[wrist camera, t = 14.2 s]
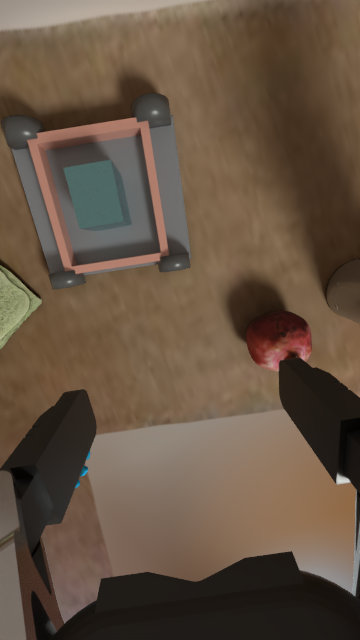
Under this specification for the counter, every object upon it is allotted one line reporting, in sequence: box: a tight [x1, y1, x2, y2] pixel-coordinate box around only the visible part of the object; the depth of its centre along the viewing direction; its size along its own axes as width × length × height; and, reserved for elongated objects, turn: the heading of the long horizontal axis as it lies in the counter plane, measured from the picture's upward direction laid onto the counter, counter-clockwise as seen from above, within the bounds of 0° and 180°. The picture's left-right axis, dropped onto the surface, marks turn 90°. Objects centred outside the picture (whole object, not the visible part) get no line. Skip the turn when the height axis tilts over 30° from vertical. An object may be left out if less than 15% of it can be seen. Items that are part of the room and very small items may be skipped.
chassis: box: [1, 93, 191, 289], centre depth 31 cm, size 20×19×4 cm
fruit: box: [246, 311, 312, 371], centre depth 35 cm, size 9×10×10 cm
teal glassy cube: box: [63, 160, 132, 231], centre depth 29 cm, size 5×6×6 cm
